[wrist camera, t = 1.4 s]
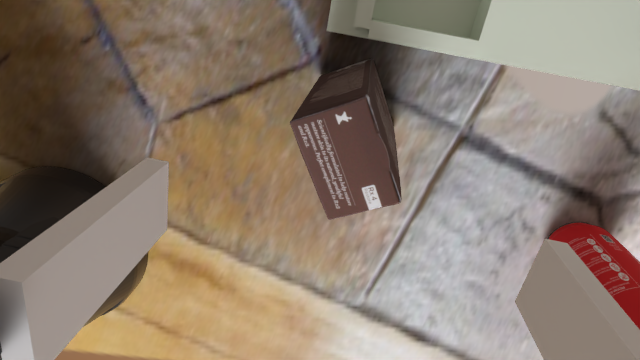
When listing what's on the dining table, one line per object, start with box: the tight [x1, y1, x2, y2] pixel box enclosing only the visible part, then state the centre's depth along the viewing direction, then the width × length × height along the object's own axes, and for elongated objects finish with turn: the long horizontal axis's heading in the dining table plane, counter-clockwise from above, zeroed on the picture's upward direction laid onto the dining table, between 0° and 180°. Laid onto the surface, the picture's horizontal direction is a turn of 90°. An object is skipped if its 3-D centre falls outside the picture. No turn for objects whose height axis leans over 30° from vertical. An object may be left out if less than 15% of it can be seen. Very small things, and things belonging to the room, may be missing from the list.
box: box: [290, 59, 401, 220], centre depth 26 cm, size 6×4×12 cm
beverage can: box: [548, 222, 640, 330], centre depth 28 cm, size 5×5×12 cm
